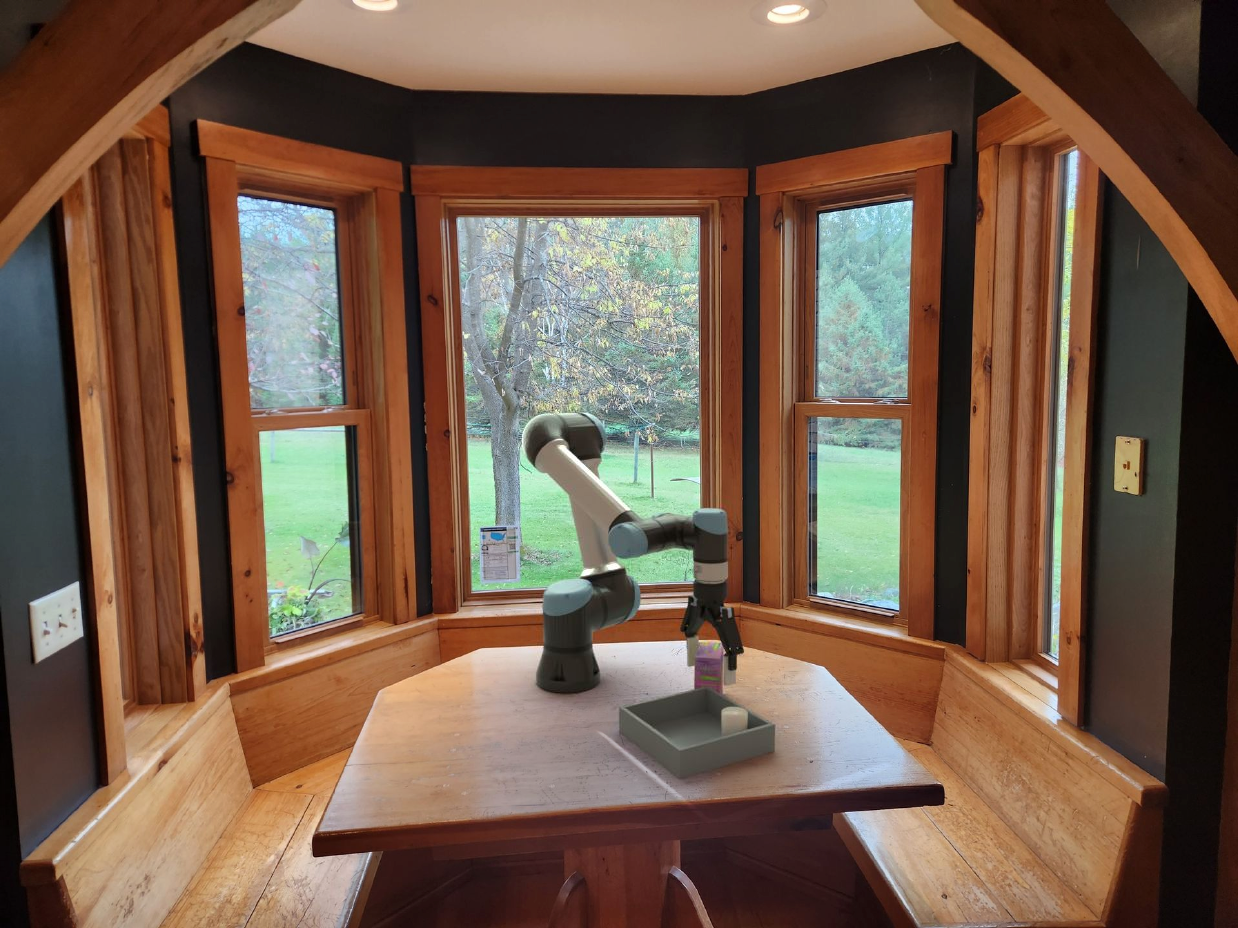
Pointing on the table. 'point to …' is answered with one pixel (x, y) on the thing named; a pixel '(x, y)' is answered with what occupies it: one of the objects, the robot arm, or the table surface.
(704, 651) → the box
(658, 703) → the crate
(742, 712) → the cream bullet shape
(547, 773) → the table surface
